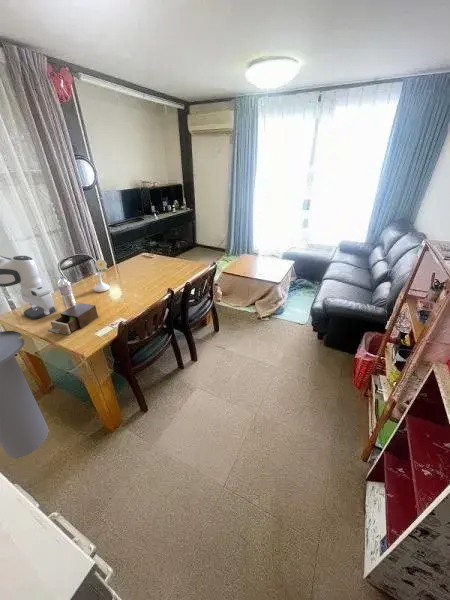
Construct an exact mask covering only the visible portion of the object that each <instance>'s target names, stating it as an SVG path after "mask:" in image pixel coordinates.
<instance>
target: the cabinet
mask: <svg viewBox="0 0 450 600" xmlns="http://www.w3.org/2000/svg"><path fill="white" fill-rule="evenodd" d="M62 315H65V316H70V317H75V318H77V320H78V324H79V327H78V328H77V329H79V330H82V329H83V328H85V327H86V326H88V325H89V324H91V323H92V322H93V321H95V320H96V319H97V318H99V315H98V310H97V307H96V305H95V304H89V303H84V302H76V305H74V306H72V307H70V308H69V309H67V310H63V311H62V312H60V317H61V316H62Z"/></svg>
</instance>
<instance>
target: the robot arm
mask: <svg viewBox="0 0 450 600" xmlns="http://www.w3.org/2000/svg"><path fill="white" fill-rule="evenodd" d="M15 285H19V286H20V295H21V299H22V300H23V302H24V303H27V304H29V305H30V308H31V307H32V308H33V310H35V311H36V310H38V307H37V306H39V307H42V308H44V309H45V311H44V314H46V316H49V315H51V314H50V312H49V309H50V308H52V307H55V303H54V299H53V296H52V294H51V292H52V290H51V288H50V287H48V286H47V285H46V284H45V283H43V280H42V278H41V277H40V271H39V269H38V266H37V263H36V262H35V260H34V259H33V258H32V257H31V256H28V255H16V256H13V257H11V258H10V257H6V256H2V255H0V287H3V288H6V287H7V288H8V287H11V286H15Z"/></svg>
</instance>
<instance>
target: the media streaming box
mask: <svg viewBox="0 0 450 600" xmlns="http://www.w3.org/2000/svg"><path fill="white" fill-rule="evenodd" d="M37 307H38V310H36V311H35V310H33V308H32V307H31V306H30V307H29V308H27V309H25V310H24V311H23V314H24V317H26V318H28V319H31V320H38V319H42V318H44V317H46V316H47V315H46V314H44V311H45V309H44V308H42V307H39V306H37ZM49 312H50V314H49V315H51V314H52V313H55V312H56V308H55V306H54V307H52V308H50V309H49Z"/></svg>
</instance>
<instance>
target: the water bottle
mask: <svg viewBox="0 0 450 600" xmlns="http://www.w3.org/2000/svg"><path fill="white" fill-rule="evenodd" d="M57 287H58V291H59V293H60V297H61V299H62V303H63V307H64V309H65V310H67V309H69V308H70V307H72V306H74V305H76V304H77V301H76V298H75V295H74V292H73V289H72V286H71V281H70V280H69V279H67V278H65V276H63V275H61V276H60V279H59V280H58V282H57ZM65 310H64V311H65Z"/></svg>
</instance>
